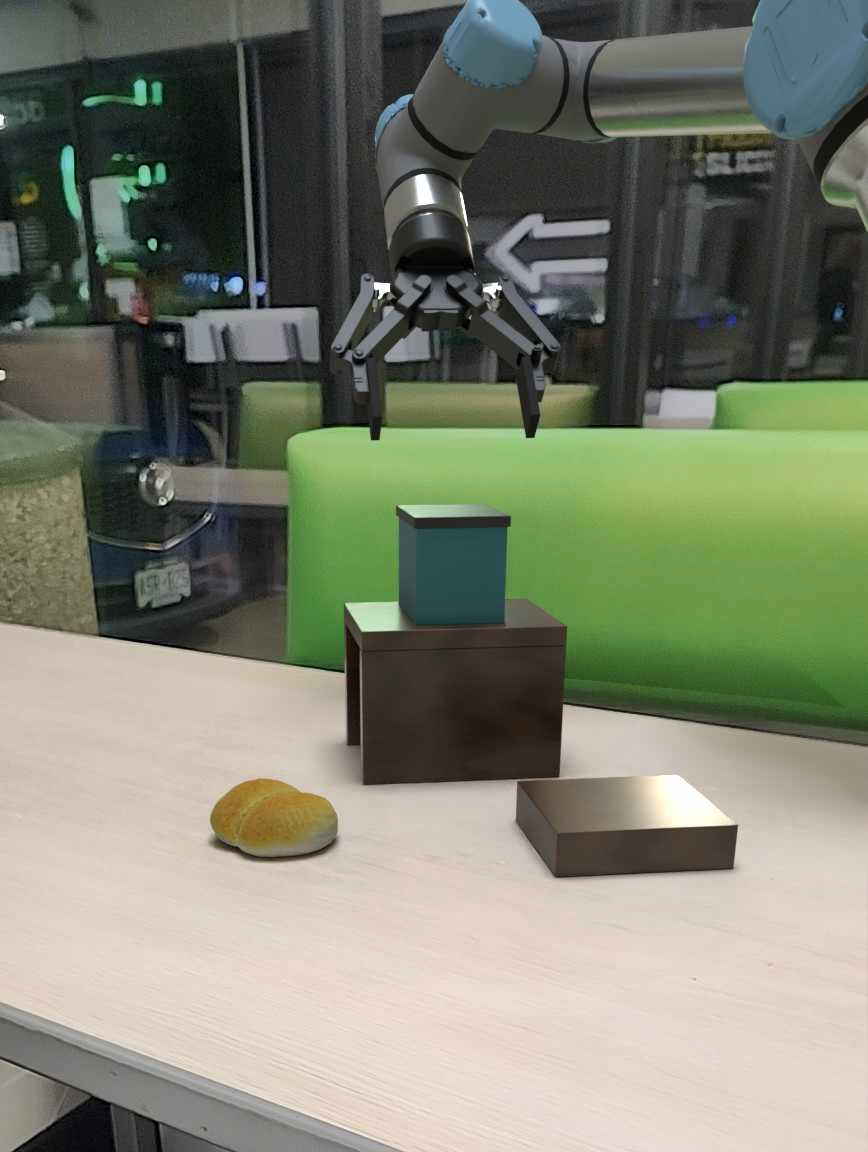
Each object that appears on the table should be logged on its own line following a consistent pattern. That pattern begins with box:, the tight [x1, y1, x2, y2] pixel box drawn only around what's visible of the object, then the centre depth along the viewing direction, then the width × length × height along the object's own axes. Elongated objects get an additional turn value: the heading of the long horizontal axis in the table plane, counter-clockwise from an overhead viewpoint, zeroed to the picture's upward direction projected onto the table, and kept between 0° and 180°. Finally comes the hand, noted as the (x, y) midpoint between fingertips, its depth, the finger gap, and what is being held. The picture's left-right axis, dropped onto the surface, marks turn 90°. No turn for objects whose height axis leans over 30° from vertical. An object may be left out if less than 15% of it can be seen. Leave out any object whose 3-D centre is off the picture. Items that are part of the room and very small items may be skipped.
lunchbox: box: [395, 503, 512, 625], centre depth 106 cm, size 7×10×8 cm
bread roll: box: [209, 778, 339, 858], centre depth 92 cm, size 8×9×4 cm
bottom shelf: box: [515, 774, 739, 878], centre depth 91 cm, size 12×12×3 cm
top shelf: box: [343, 598, 568, 785], centre depth 110 cm, size 16×14×12 cm
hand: (455, 428), depth 113 cm, fingers open, 13 cm apart
